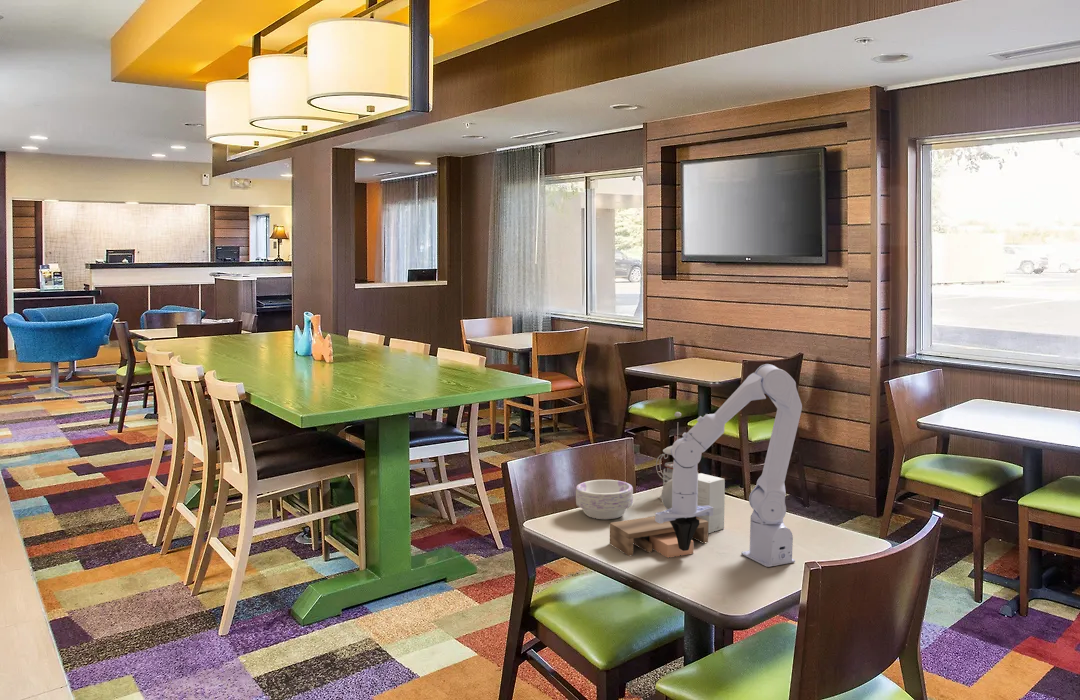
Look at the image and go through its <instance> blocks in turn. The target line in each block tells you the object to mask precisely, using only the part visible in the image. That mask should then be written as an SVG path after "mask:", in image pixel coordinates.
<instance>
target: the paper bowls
mask: <svg viewBox="0 0 1080 700" xmlns="http://www.w3.org/2000/svg"><path fill="white" fill-rule="evenodd" d="M633 494H634V487H633V485H632V484H630V483H628V482H626V481H621V480H617V479H615V480H614V479H594V480H593V479H592V480H588V481H587V480H586V481H583V482H581V483H579V484H577V485H576V486H575V502H576V503H575V504H576V506H577V507H579V508H580V509H582V510H583V512H584V514H585V515H586V516H588V517H589V518H591V517H592V519H595V518H596V520H614V519H619V518H621V517H622V516H624V514H625V512H626V509H629V508H630V507H632V506H633V505H634V495H633Z"/></svg>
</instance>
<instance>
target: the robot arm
mask: <svg viewBox="0 0 1080 700" xmlns="http://www.w3.org/2000/svg"><path fill="white" fill-rule="evenodd" d="M765 394H766V395H767V396H768V397H769V399H770V400H771V402H772V403H773V404H774V406H775V408H776V414H775V418H774V421H773V422H774V423H773V425H772V426H773V427H772V431H771V435H770V437H769V443H768V447H767V452H766V454H765V460H764V464H763V468H762V473H761V475H760V476H759V477H758V479H757V481H756V485H755V486H754V488H753V489H752V490H751V491H750V493H749V497H748V503H749V505H750V507H751V508H752V513H751V515H750V522H749V523H750V526H749V528H750V529H749V550H745V551H742V552H741V555H742V556H744V557H746V558H749V560H752V561H754V562H756V563H758V564H759V565H763V566H765V567H767V568H769V567H775V566H781V565H786V564H791V563H795V562H796V560H795V559H794V558H793V546H794V545H793V542H794V541H793V540H794V536H793V533H792V531H791V529H790V528H788V527H787V526H786V525H785V523H784V518H785V516H786V514H787V506H786V496H787V494H786V485H785V481H786V477H787V472H788V469H789V464H790V460H791V456H792V452H793V449H794V443H795V440H796V435H797V432H798V427H799V424H800V418H801V414H802V411H803V404H802V400H801V398H800V395H799V391H798V388H797V383H796V381H795V379H794V378H793V376H791V375H790V373H788V372H787V371H786V370H784V369H781V368H779V367H777V366H776V365H775V364H774V365H773V364H769V363H765V364H761V365H760V366H759V367H757V369H756V370H755V371H754V372H752V373H750V374H749V375H748V376H747V377H746V379H744V380H743V382H742V383H741V384H740V385H739V386H738V387H737V389H735V391H734V392H733V393H731V395H730V396H729V397H728V398H727V399H726V400H725V401H724V403H723V404H722V405H720V407H719V408H718V409H717V410H716V411H715V412H714V413H709V414H708V413H705V415H703V416H701V415H699V416H698V417H697V418H696V421H697V422H696V423H695V424H694V425H693V426H692V427H691V428H690V429H689V430H688V431H687V432H683V434H681V435H682V437H681V438H679V437H678V440H677V439H676V440H675V441H674V442H673V443H672V445H671V446H672V449H671V454H672V455H671V456H672V458H673V461H672V462H673V476H672V508H671V509H665V510H662V511H659V512H658V511H657V512H655V513H654V514H655V521H656V522H658V523H663V522H666V521H670V523H671V525H672V527H673V529H674V531H675V534H676V537H677V541H678V545H679V549H681V550H683V551H686V550H689V547H690V543H691V540H693V535H694V532H695V530H696V529H697V527H698V526H699V520H698V519H696V517H699V516H706V515H708V516H713V507H711V506H709V505H706V506H697V500H698V474H699V472H698V464H699V463H700V462H701V459H702V453H704V452H706V451H707V450H708V449H709V448H710V447H711V446H712V445H713V444H714V443H715V442H716V441H717V440H718V439H719V438H720V437H722V435H723V434H724V433H725V427H726V426H725V425H726V424H727V423H728V422H729V421H730V420H731V419H733V417H735V415H737V414H738V413H740V411H741V410H743V409H744V407H746V406H747V405H749V404H750V402H751V401H759V400H766V399H767V397H766V395H765Z"/></svg>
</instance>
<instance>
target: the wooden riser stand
mask: <svg viewBox="0 0 1080 700" xmlns="http://www.w3.org/2000/svg"><path fill="white" fill-rule="evenodd" d="M696 519H698V520H699V526H698V527H697V529H696V530H695V532H694V535H693V537H692V539H694V538H695V540H696V539H697V540H696V541H698V540H699V541H698V542H700V541H701V542H700V543H702V542H703V543H702V544H706V543H705V542H708V543H709V533H708V521H706V520H704V519H702V518H700V517H696ZM670 532H675V531H674V529H673V527H672V525H671V523H670V521H666V522H663V523H658V522H656V521H655V516H648V517H640V518H634V519H626V520H619V521H613V522H609V545H611V546H612V545H613V546H612V547H613V548H615V547H616V549H617V550H619V551H620V550H621V551H620V552H621V553H624V554H625V555H626V556H629V557H630V555H631V556H634V545H635V546H637V547H638V546H639V548H640V549H642V550H643V551H645V552H647V553H652V552H653V549H652V543H650V542H649V536H651V535H657V534H664V533H670ZM633 543H634V544H633Z"/></svg>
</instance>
